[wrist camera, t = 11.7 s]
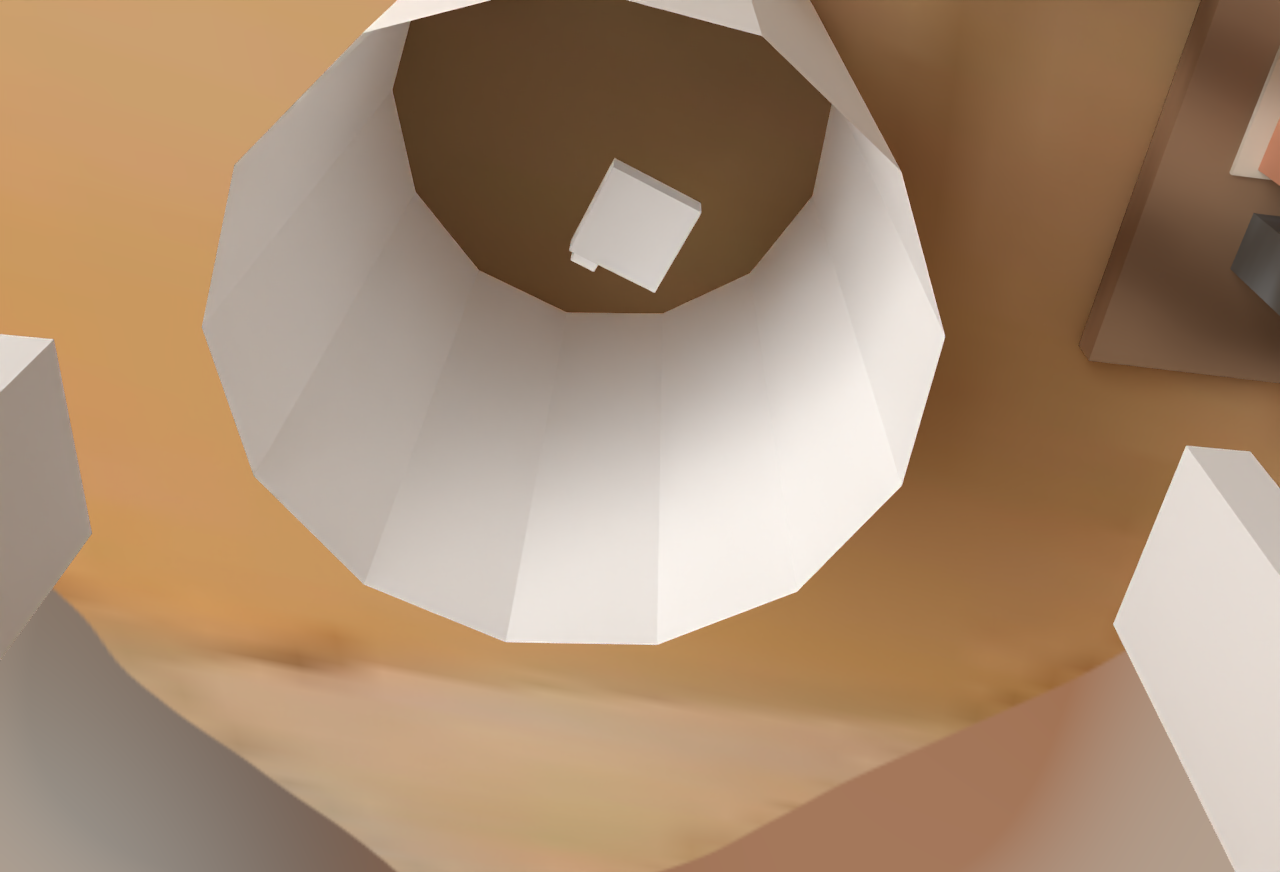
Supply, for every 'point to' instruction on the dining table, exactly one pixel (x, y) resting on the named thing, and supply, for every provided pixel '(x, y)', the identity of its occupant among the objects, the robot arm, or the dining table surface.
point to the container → (568, 370)
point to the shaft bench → (1203, 214)
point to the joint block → (1272, 157)
